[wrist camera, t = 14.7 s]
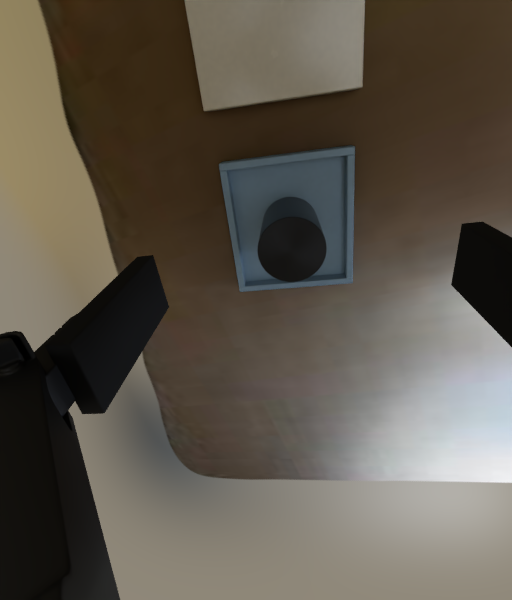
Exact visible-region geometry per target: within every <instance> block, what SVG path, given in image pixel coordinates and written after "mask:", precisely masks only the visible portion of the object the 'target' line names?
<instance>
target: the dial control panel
mask: <svg viewBox="0 0 512 600" xmlns="http://www.w3.org/2000/svg"><path fill="white" fill-rule="evenodd" d="M184 1H185V7H186V13H187V18H188V24H189V30H190V36H191V41H192V47H193V53H194V58H195V64H196V70H197V76H198V81H199V87H200V93H201V99H202V104H203V110H204V111H208V112H211V111H218V110H224V109H231V108H238V107H244V106H251V105H258V104H265V103H271V102H278V101H285V100H291V99H298V98H305V97H311V96H318V95H325V94H332V93H338V92H345V91H352V90H357V89H360V88H362V87H363V58H364V19H365V0H184Z"/></svg>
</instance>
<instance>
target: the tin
mask: <svg viewBox="0 0 512 600" xmlns="http://www.w3.org/2000/svg"><path fill="white" fill-rule="evenodd" d="M257 251H258V258H259V261H260V263H261V265H262V267H263V268H264V270H265V271H266V272H267V273H268V274H269V275H271V276H272V277H274V278H276V279H278V280H281V281H285V282H297V281H301V280H304V279H307V278H309V277H310V276H312V275H313V274H315V273H316V272H317V271H318V270H319V268H320V267H321V266H322V264H323V262H324V260H325V257H326V252H327V245H326V240H325V237H324V234H323V231H322V228H321V226H320V223H319V220H318V217H317V214H316V212H315V210H314V208H313V207H312V206H311V205H310V204H309V203H308V202H306V201H305V200H303V199H301V198H297V197H285V198H281V199H279V200H277V201H275V202H274V203H273V204H271V205H270V207H269V208H268V209H267V211H266V212H265V214H264V217H263V222H262V227H261V232H260V237H259V242H258V249H257Z"/></svg>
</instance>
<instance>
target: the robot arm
mask: <svg viewBox="0 0 512 600" xmlns="http://www.w3.org/2000/svg"><path fill="white" fill-rule="evenodd" d="M451 285H452V286H453V287H454V288H455V289H456V290H457V291H458V292H459V293H460V294H461V295H462V296H463V297H464V298H465V299H466V301H467V302H468V303H469V304H470V305H471V306H472V307H473V308H474V309H475V310H476V311H477V312H478V313H479V314H480V315H481V316H482V317H483V318H484V319H485V320H486V321H487V322H488V323H489V324H490V325H491V326H492V327H493V328H494V329H495V330H496V331H497V333H498V334H499V335H500V336H501V337H502V338H503V339H504V340H505V341H506V342H507V343H508V344H509V345H510V346H511V347H512V238H511V237H510V236H508V235H506V234H504V233H502V232H500V231H499V230H497V229H495V228H493V227H491V226H489V225H488V224H486V223H484V222H475V223H465V224H462V227H461V232H460V238H459V244H458V250H457V255H456V261H455V267H454V272H453V278H452V284H451ZM168 308H169V306H168V302H167V299H166V296H165V293H164V289H163V286H162V283H161V280H160V276H159V273H158V270H157V267H156V263H155V260H154V257H153V255H151V256H142V257H137V258H136V259H135V260H134V261H133V262H131V263H130V264H129V265H128V266H127V267H126V268H125V269H124V270H123V271H122V272H121V273H120V274H119V275H118V276H117V277H116V278H115V279H114V280H113V281H112V282H111V283H110V284H109V285H108V286H106V287H105V288H104V289H103V290H102V291H101V292H100V293H99V294H98V295H97V296H96V297H95V298H94V299H93V300H92V301H91V302H90V303H89V304H88V305H87V306H86V307H85V308H84V309H82V310H81V312H79V313H78V314H76V315H75V316H73V317H71V318H70V319H69V320H68V321H67V322H66V323H65V324H64V325H63V326H62V328H59V329H58V330H57V331H56V332H55V335H52V336H51V337H50V338H49V339H48V340H47V341H46V342H45V343H44V344H42V345H41V346H40V347H39V348H38V349H37V350H36V351H35V352H33V350H32V348H31V346H30V345H29V343H28V341H27V340H26V338H25V336H24V335H23V333H22V332H18V331H13V332H7V333H4V334H0V600H120V598H119V594H118V590H117V586H116V582H115V578H114V575H113V571H112V567H111V563H110V560H109V556H108V552H107V548H106V544H105V540H104V536H103V533H102V529H101V525H100V521H99V518H98V513H97V509H96V506H95V502H94V498H93V494H92V491H91V486H90V483H89V479H88V475H87V471H86V468H85V463H84V460H83V456H82V452H81V448H80V444H79V440H78V437H77V433H76V429H75V425H74V421H73V418H72V416H71V415H70V413H69V411H68V410H69V408H70V407H71V406H72V404H73V403H74V401H76V403H77V405H78V407H79V409H80V410H81V412H82V414H98V413H105V412H106V410H107V408H108V407H109V405H110V403H111V402H112V400H113V398H114V397H115V395H116V393H117V392H118V390H119V388H120V387H121V385H122V383H123V382H124V380H125V378H126V377H127V375H128V373H129V372H130V370H131V369H132V367H133V365H134V364H135V362H136V360H137V359H138V357H139V356H140V354H141V352H142V351H143V349H144V347H145V346H146V344H147V342H148V341H149V339H150V337H151V336H152V334H153V332H154V331H155V329H156V328H157V326H158V324H159V323H160V321H161V319H162V318H163V316H164V314H165V313H166V311H167V309H168Z"/></svg>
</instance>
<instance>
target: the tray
mask: <svg viewBox="0 0 512 600" xmlns="http://www.w3.org/2000/svg"><path fill="white" fill-rule="evenodd" d="M354 154H355V147H354V146H352V145H348V146H340V147H333V148H325V149H317V150H310V151H302V152H294V153H286V154H279V155H271V156H263V157H255V158H248V159H240V160H232V161H224V162H221V163H220V164H219V170H220V176H221V182H222V188H223V194H224V200H225V206H226V212H227V218H228V224H229V230H230V236H231V242H232V248H233V254H234V260H235V266H236V272H237V278H238V284H239V290H240V292H245V291H258V290H271V289H284V288H296V287H309V286H322V285H335V284H347V283H353V278H352V277H353V232H354V177H355V155H354ZM285 197H297V198H301V199H303V200H305V201H306V202H308V203H309V204H310V205H311V206H312V207H313V208H314V210H315V212H316V214H317V217H318V220H319V223H320V226H321V228H322V231H323V234H324V237H325V240H326V245H327V252H326V257H325V260H324V262H323V264H322V266H321V267H320V268H319V270H318V271H317V272H316V273H315V274H313V275H312V276H310V277H309V278H307V279H304V280H301V281H297V282H285V281H281V280H278V279H276V278H274V277H272V276H271V275H269V274H268V273H267V272H266V271H265V270H264V268H263V267H262V265H261V263H260V261H259V258H258V251H257V249H258V242H259V237H260V232H261V227H262V222H263V217H264V214H265V212H266V211H267V209H268V208H269V207H270V205H271V204H273V203H274V202H275V201H277V200H279V199H281V198H285Z"/></svg>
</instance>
